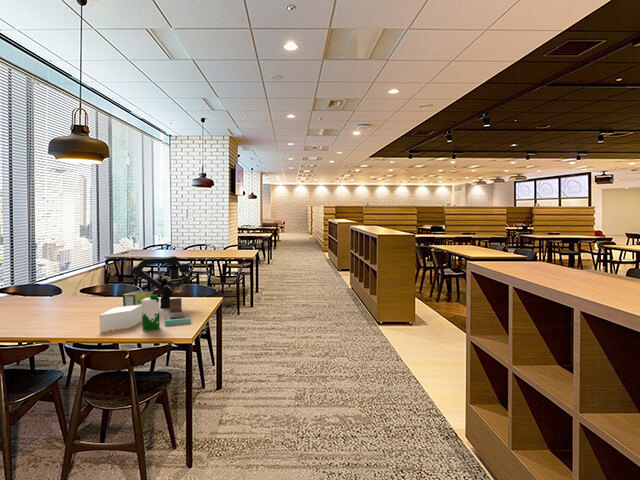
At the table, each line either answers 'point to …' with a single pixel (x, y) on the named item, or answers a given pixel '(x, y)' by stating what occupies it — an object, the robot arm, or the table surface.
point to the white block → (120, 317)
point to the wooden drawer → (176, 309)
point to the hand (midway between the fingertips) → (175, 291)
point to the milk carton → (150, 313)
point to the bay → (177, 321)
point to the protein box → (135, 297)
